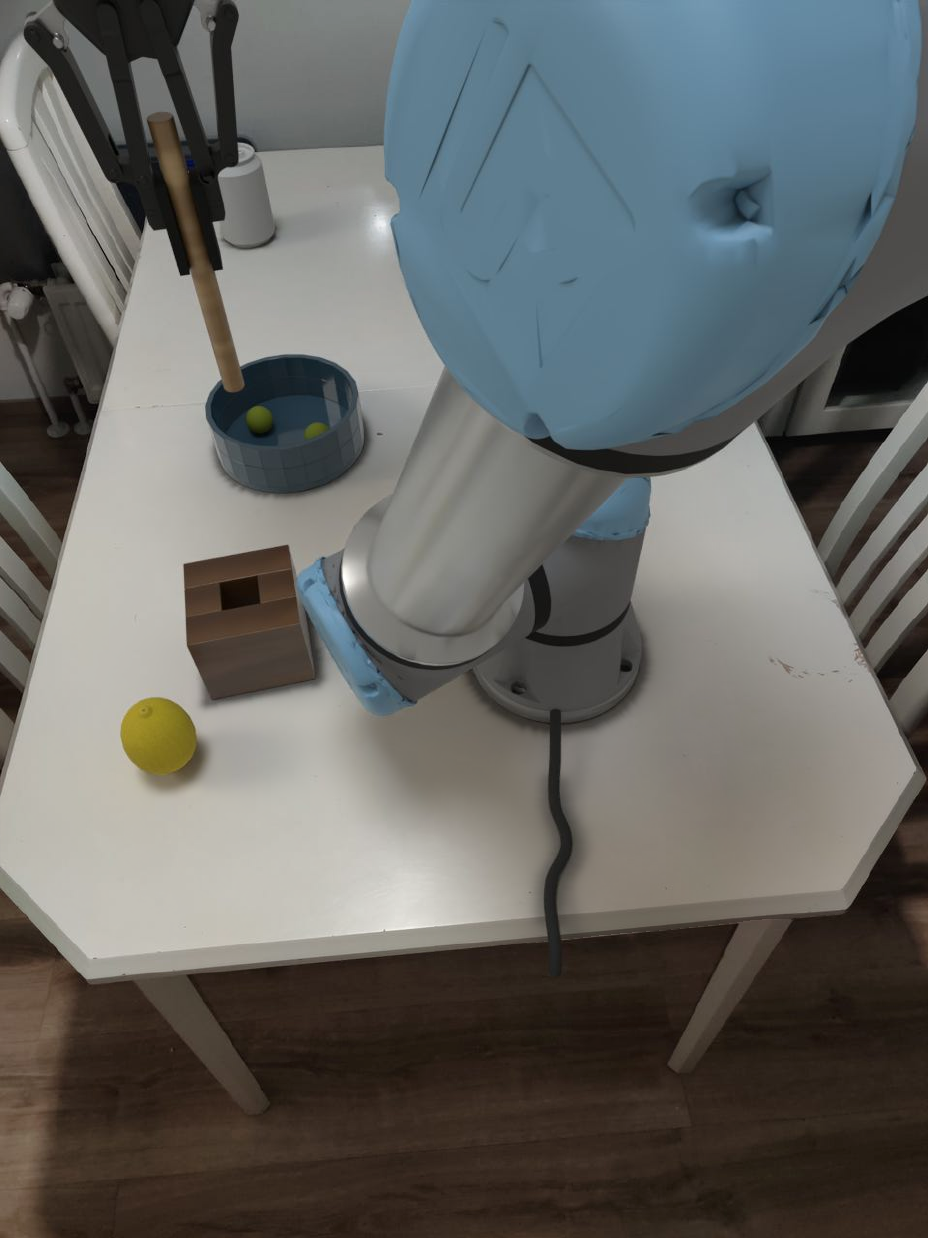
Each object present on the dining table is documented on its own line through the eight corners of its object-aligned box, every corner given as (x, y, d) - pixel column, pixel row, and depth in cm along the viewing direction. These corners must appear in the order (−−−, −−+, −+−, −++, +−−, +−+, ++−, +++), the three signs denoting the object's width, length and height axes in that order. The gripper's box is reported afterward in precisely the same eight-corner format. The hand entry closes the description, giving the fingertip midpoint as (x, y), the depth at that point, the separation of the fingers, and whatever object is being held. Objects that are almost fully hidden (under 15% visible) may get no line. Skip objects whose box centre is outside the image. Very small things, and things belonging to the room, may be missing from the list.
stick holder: (315, 678, 77) (300, 623, 71) (211, 700, 76) (186, 645, 70) (303, 601, 83) (288, 544, 77) (206, 620, 82) (182, 563, 75)
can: (230, 224, 128) (209, 138, 119) (280, 224, 128) (263, 138, 118) (219, 250, 124) (196, 163, 114) (271, 250, 123) (253, 163, 114)
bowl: (375, 478, 93) (369, 434, 89) (223, 504, 91) (209, 461, 87) (352, 387, 103) (346, 344, 98) (215, 410, 101) (201, 366, 96)
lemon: (126, 770, 72) (91, 719, 66) (174, 721, 75) (145, 668, 69) (173, 803, 70) (142, 754, 64) (221, 752, 73) (195, 700, 67)
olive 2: (335, 453, 95) (331, 431, 92) (308, 458, 94) (303, 436, 92) (332, 436, 97) (328, 414, 94) (305, 440, 96) (300, 419, 94)
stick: (245, 390, 75) (173, 120, 58) (224, 394, 75) (146, 124, 58) (243, 378, 76) (172, 109, 59) (223, 381, 76) (145, 112, 59)
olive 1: (276, 436, 97) (271, 415, 94) (249, 441, 96) (243, 419, 94) (274, 420, 99) (269, 398, 96) (247, 424, 98) (241, 402, 96)
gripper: (219, -161, 51) (290, 225, 70) (-43, -139, 49) (102, 252, 68) (230, -129, 47) (302, 274, 66) (-58, -104, 45) (101, 305, 64)
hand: (200, 262), depth 67 cm, fingers closed on stick, 2 cm apart
